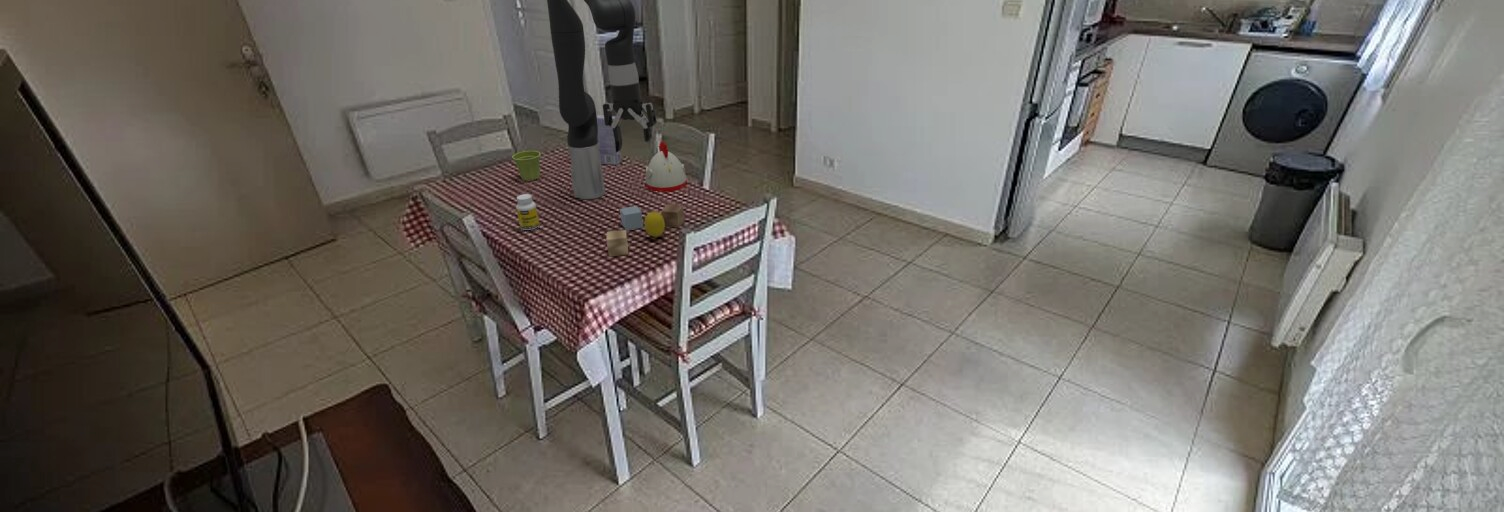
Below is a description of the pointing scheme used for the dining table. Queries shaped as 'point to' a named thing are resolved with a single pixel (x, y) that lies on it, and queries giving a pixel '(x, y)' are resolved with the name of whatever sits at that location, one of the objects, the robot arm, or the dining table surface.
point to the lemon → (654, 224)
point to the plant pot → (528, 164)
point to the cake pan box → (608, 143)
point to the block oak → (617, 243)
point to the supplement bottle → (527, 212)
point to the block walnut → (673, 215)
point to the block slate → (631, 218)
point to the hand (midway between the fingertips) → (633, 140)
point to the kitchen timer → (665, 172)
